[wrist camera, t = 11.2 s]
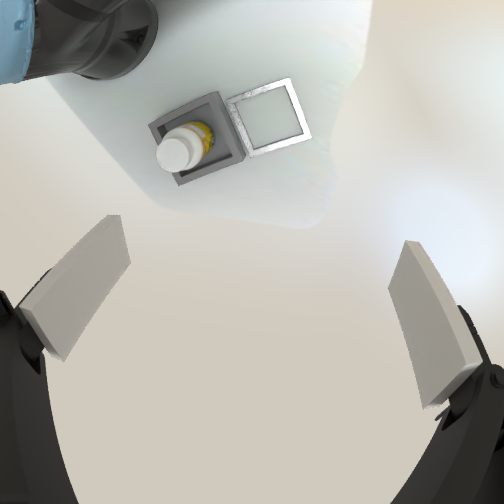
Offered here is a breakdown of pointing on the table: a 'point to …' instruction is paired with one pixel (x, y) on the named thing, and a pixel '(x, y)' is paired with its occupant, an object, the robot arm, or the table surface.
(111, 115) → the table surface
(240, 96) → the socket collar
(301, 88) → the table surface
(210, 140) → the supplement bottle
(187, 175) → the bin
